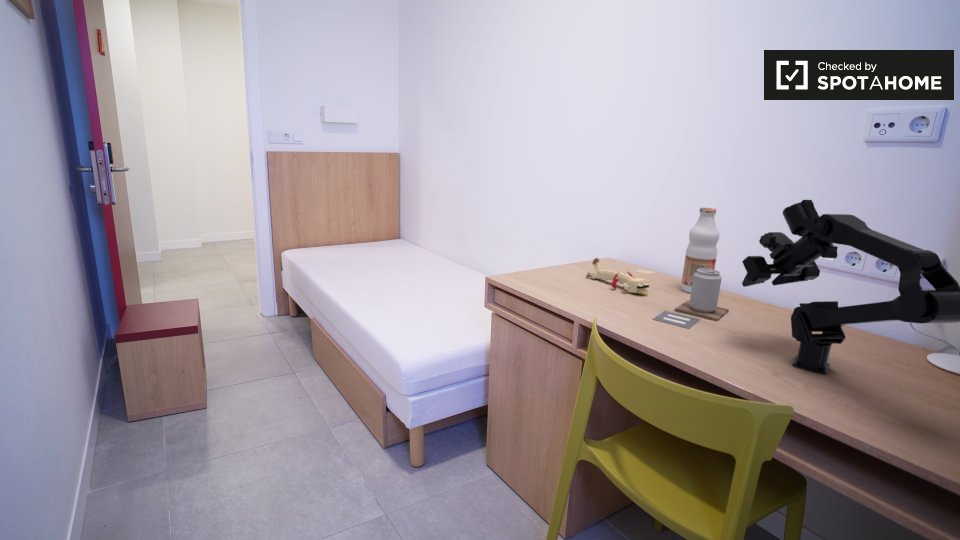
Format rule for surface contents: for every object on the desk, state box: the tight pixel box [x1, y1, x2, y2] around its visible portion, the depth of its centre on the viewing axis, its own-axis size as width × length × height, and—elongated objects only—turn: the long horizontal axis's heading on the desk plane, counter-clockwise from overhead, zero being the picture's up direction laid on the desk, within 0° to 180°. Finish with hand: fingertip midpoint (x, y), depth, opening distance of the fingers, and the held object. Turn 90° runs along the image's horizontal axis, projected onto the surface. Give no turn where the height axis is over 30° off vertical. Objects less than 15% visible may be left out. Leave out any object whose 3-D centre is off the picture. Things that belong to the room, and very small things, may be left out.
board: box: [673, 299, 729, 322], centre depth 146 cm, size 12×12×1 cm
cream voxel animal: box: [585, 257, 650, 295], centre depth 168 cm, size 10×9×25 cm
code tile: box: [652, 310, 701, 329], centre depth 138 cm, size 10×10×1 cm
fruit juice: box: [680, 207, 720, 294], centre depth 163 cm, size 9×9×28 cm
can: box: [689, 268, 722, 313], centre depth 145 cm, size 8×8×12 cm
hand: (758, 284), depth 126 cm, fingers open, 9 cm apart
